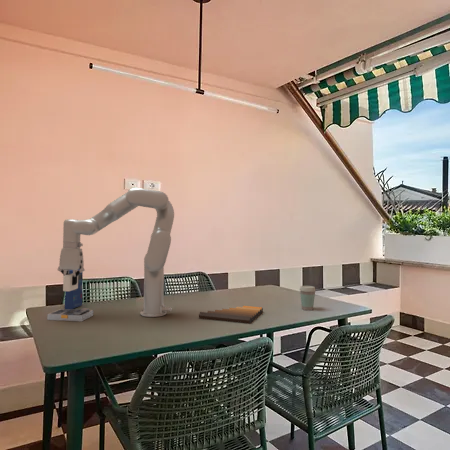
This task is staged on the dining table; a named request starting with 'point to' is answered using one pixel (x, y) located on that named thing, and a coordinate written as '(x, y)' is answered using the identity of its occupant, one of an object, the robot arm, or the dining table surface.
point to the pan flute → (233, 314)
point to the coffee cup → (307, 297)
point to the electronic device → (74, 294)
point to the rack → (70, 314)
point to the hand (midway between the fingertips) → (70, 284)
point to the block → (69, 283)
